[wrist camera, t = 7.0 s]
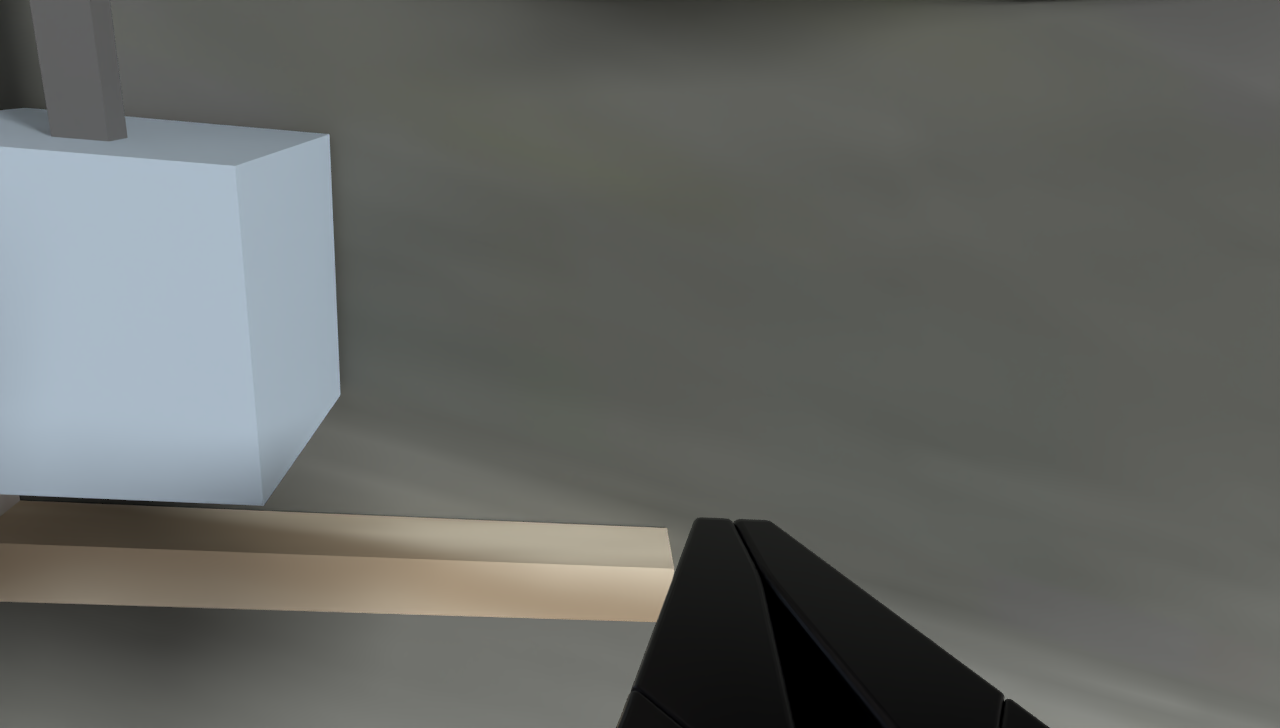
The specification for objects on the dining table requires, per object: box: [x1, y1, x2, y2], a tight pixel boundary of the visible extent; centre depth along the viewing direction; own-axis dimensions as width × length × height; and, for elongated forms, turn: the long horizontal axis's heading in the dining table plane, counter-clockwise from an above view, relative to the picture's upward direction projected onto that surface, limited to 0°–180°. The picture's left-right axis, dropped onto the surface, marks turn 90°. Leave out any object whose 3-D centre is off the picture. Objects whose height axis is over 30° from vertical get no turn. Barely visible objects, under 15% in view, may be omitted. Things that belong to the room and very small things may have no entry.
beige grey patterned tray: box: [0, 494, 674, 622], centre depth 15 cm, size 19×19×5 cm
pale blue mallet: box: [0, 0, 340, 506], centre depth 14 cm, size 14×6×5 cm, turn 175°
